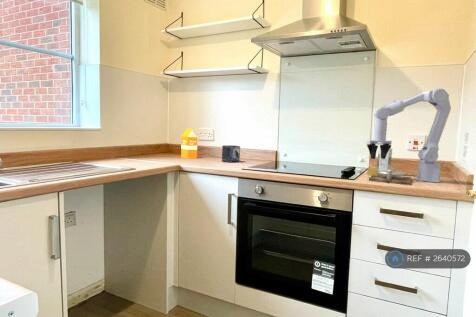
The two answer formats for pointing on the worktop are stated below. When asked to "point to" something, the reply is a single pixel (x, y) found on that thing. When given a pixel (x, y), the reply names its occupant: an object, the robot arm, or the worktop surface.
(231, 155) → the small box
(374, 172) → the small silver pan
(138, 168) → the worktop surface
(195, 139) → the orange juice
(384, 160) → the syrup box
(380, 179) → the post board
